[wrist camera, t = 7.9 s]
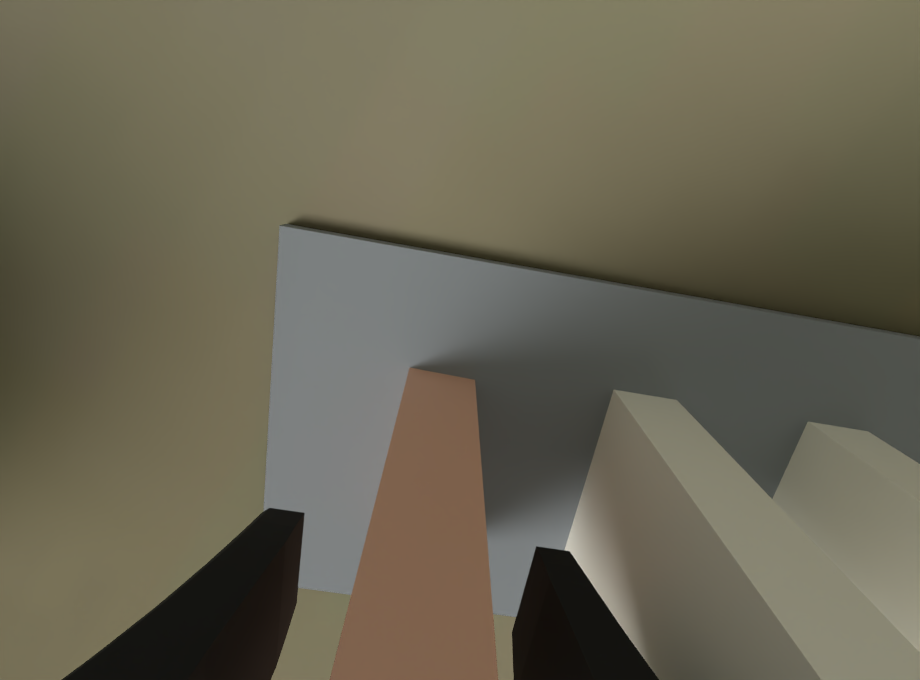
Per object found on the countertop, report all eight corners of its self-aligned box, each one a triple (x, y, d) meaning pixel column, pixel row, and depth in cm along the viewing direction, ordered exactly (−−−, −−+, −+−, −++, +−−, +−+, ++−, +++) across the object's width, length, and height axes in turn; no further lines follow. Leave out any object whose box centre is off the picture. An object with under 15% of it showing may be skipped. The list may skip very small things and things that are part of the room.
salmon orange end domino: (436, 544, 13) (406, 1034, 6) (378, 534, 13) (270, 1019, 6) (474, 379, 12) (503, 754, 4) (409, 367, 12) (315, 730, 4)
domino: (619, 560, 14) (825, 1054, 6) (563, 552, 13) (699, 1045, 6) (676, 400, 12) (1056, 795, 4) (613, 389, 12) (888, 773, 4)
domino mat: (1165, 693, 16) (1182, 706, 15) (265, 571, 14) (259, 582, 14) (1411, 424, 13) (1440, 431, 12) (285, 223, 11) (279, 225, 11)
